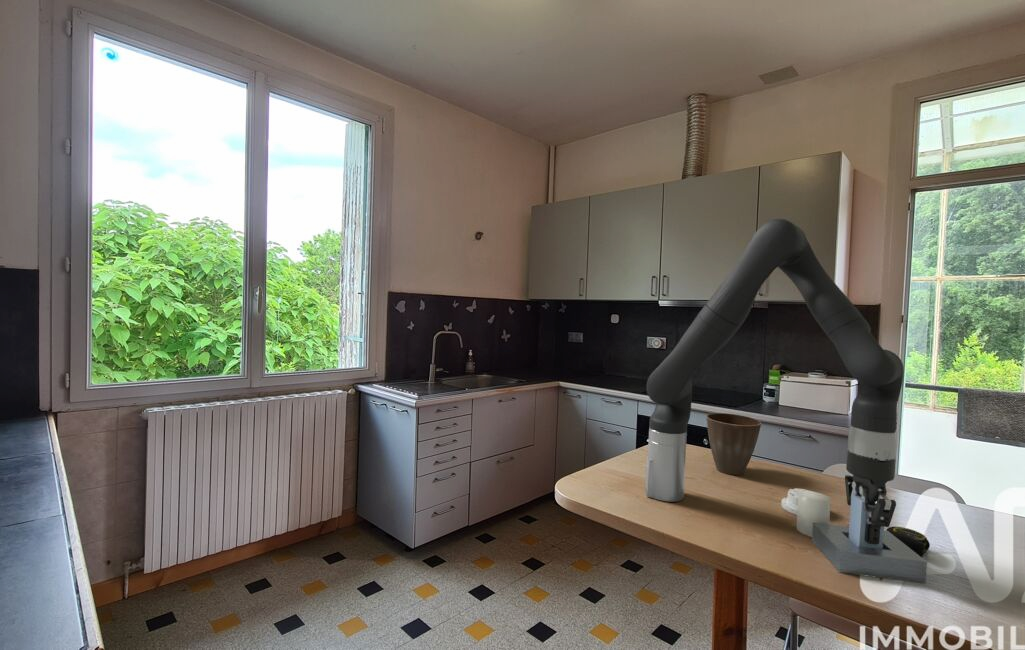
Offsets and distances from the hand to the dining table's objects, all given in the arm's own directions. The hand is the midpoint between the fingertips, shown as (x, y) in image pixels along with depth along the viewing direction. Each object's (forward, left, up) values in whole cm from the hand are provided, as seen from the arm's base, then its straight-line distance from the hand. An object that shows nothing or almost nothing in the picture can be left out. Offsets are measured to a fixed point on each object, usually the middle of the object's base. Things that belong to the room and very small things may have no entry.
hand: (865, 537), depth 92 cm
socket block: (0, 0, -5) cm, 5 cm away
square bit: (0, 0, -3) cm, 3 cm away
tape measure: (+11, +6, -5) cm, 14 cm away
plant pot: (-13, +48, -5) cm, 50 cm away
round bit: (-5, +11, -5) cm, 13 cm away
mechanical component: (-2, +23, -5) cm, 24 cm away
